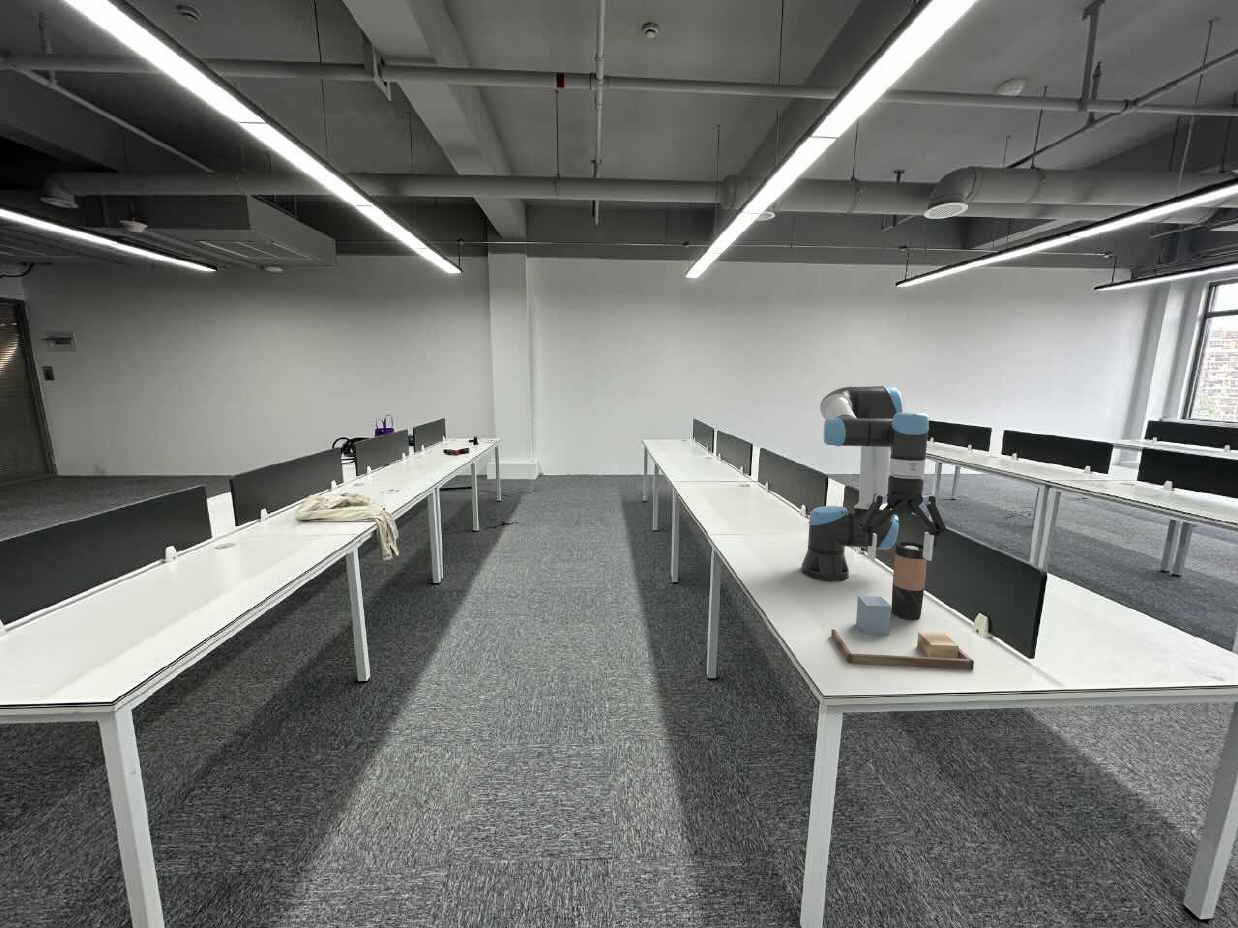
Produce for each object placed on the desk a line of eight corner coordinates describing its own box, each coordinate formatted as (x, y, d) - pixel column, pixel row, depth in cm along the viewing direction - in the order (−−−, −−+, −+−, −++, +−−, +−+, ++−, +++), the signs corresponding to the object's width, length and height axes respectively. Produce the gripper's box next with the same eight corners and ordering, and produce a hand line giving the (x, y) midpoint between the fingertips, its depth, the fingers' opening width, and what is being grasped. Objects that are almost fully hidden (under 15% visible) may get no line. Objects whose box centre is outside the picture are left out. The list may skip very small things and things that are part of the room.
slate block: (855, 623, 131) (857, 595, 130) (879, 624, 130) (881, 596, 129) (864, 634, 125) (866, 605, 124) (888, 635, 125) (891, 606, 123)
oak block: (916, 647, 119) (918, 632, 119) (942, 648, 119) (944, 632, 118) (930, 660, 113) (931, 644, 113) (957, 661, 113) (958, 645, 112)
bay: (831, 636, 124) (831, 629, 124) (942, 641, 121) (943, 634, 121) (848, 663, 112) (849, 655, 112) (973, 669, 109) (974, 661, 109)
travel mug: (926, 621, 132) (932, 551, 129) (895, 619, 133) (901, 549, 130) (915, 609, 139) (921, 542, 136) (886, 607, 141) (891, 541, 138)
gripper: (860, 478, 116) (854, 562, 119) (968, 478, 114) (959, 564, 117) (847, 473, 123) (842, 552, 126) (949, 473, 121) (941, 554, 125)
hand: (899, 558), depth 122 cm, fingers open, 13 cm apart
